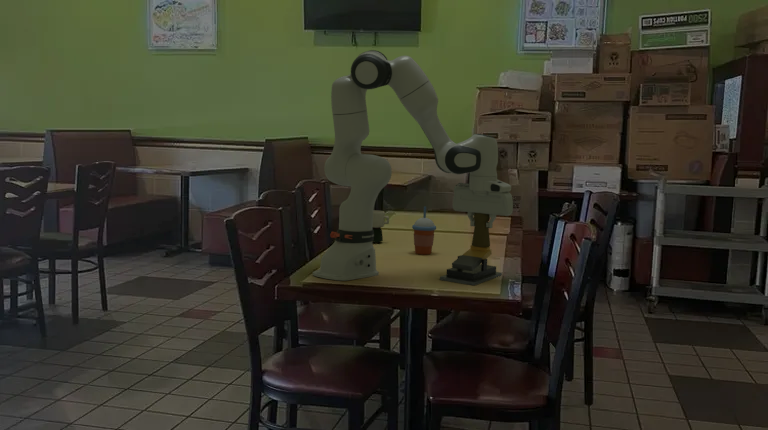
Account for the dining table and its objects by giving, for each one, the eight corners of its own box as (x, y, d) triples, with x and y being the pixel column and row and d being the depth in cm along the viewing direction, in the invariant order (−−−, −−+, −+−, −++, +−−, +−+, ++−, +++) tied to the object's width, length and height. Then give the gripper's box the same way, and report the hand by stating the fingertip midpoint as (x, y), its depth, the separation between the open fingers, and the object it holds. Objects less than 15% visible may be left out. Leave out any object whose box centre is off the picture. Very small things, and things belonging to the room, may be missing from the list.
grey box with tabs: (474, 285, 215) (475, 264, 214) (439, 279, 222) (440, 259, 221) (501, 275, 231) (502, 255, 231) (469, 270, 238) (470, 251, 237)
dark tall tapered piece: (471, 243, 233) (472, 210, 231) (489, 243, 233) (490, 210, 231) (472, 246, 227) (473, 212, 225) (491, 247, 227) (492, 213, 225)
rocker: (472, 270, 219) (471, 262, 218) (452, 267, 222) (451, 259, 222) (491, 254, 229) (491, 246, 228) (472, 251, 233) (471, 243, 232)
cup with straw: (433, 256, 264) (435, 208, 262) (409, 254, 265) (411, 207, 263) (436, 252, 273) (438, 206, 270) (413, 250, 274) (415, 204, 272)
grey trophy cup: (388, 241, 294) (389, 210, 293) (387, 244, 287) (388, 212, 286) (362, 240, 295) (363, 209, 294) (361, 243, 288) (362, 211, 286)
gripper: (450, 183, 230) (448, 224, 232) (507, 187, 219) (505, 231, 220) (459, 181, 235) (457, 222, 237) (516, 186, 224) (514, 229, 226)
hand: (481, 227), depth 229 cm, fingers open, 4 cm apart
